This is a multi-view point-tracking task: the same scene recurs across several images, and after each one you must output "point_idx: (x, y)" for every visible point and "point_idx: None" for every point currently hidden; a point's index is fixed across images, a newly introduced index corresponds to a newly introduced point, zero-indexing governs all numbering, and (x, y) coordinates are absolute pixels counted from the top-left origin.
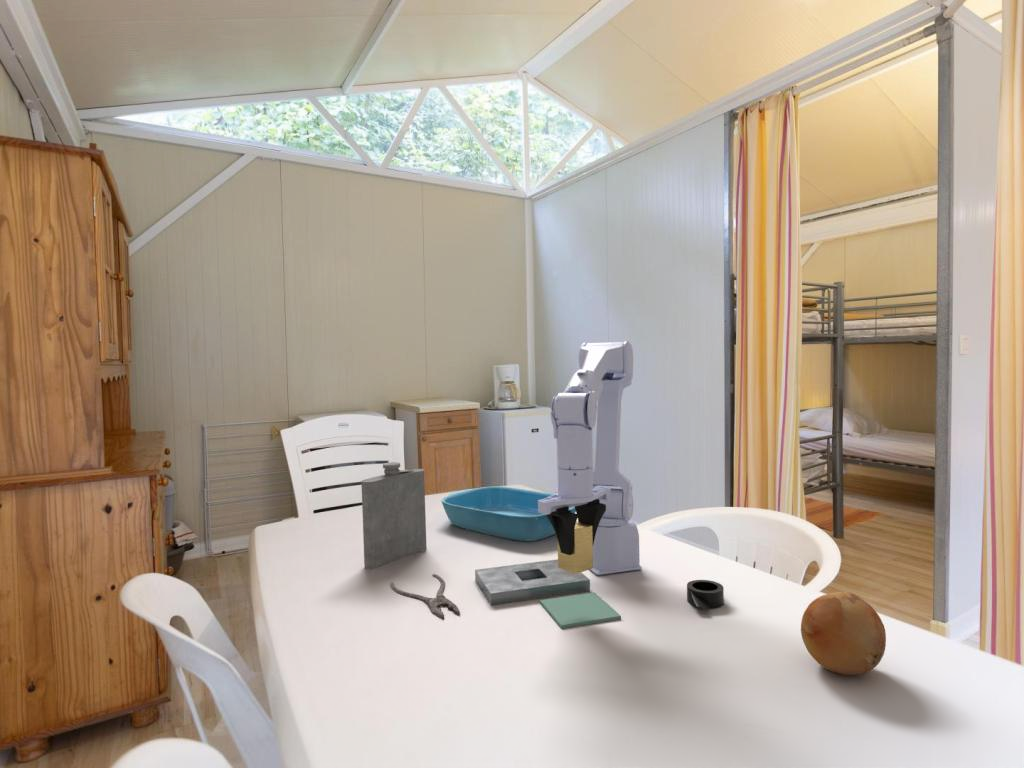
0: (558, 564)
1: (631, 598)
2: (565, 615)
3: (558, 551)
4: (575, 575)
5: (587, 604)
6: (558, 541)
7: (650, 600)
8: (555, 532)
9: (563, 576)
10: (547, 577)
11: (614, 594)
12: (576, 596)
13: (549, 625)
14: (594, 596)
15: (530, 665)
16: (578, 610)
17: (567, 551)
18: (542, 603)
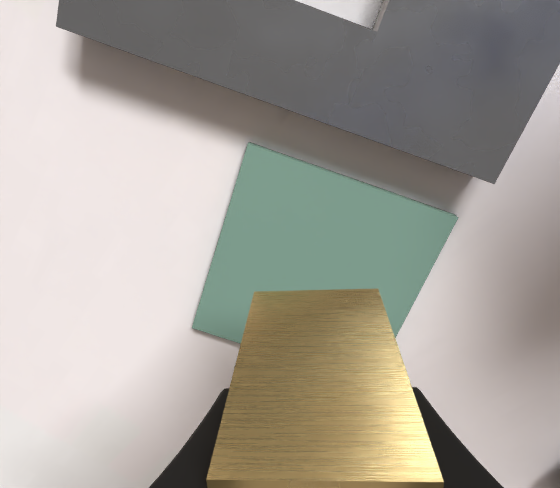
0: (251, 303)
1: (521, 308)
2: (242, 290)
3: (242, 343)
4: (492, 101)
5: (355, 276)
6: (197, 431)
7: (548, 352)
8: (159, 479)
9: (442, 73)
10: (378, 29)
11: (512, 251)
12: (377, 204)
13: (178, 288)
14: (425, 244)
15: (33, 401)
16: (299, 289)
17: None
18: (239, 171)
